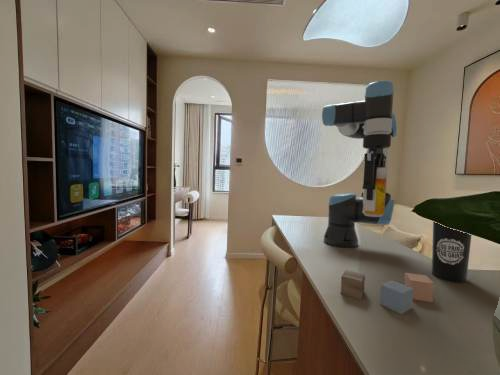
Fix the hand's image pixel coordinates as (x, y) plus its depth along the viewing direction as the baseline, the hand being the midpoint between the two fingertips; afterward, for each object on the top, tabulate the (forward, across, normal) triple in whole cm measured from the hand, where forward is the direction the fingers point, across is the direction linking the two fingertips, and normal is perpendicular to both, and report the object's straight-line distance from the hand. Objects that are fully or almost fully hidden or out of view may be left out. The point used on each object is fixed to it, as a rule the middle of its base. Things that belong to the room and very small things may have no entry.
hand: (373, 209), depth 74 cm
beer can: (+2, 0, 0) cm, 2 cm away
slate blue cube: (+21, +14, +10) cm, 28 cm away
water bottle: (+21, -18, +18) cm, 33 cm away
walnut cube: (+21, +15, 0) cm, 26 cm away
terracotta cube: (+21, +4, +13) cm, 25 cm away
